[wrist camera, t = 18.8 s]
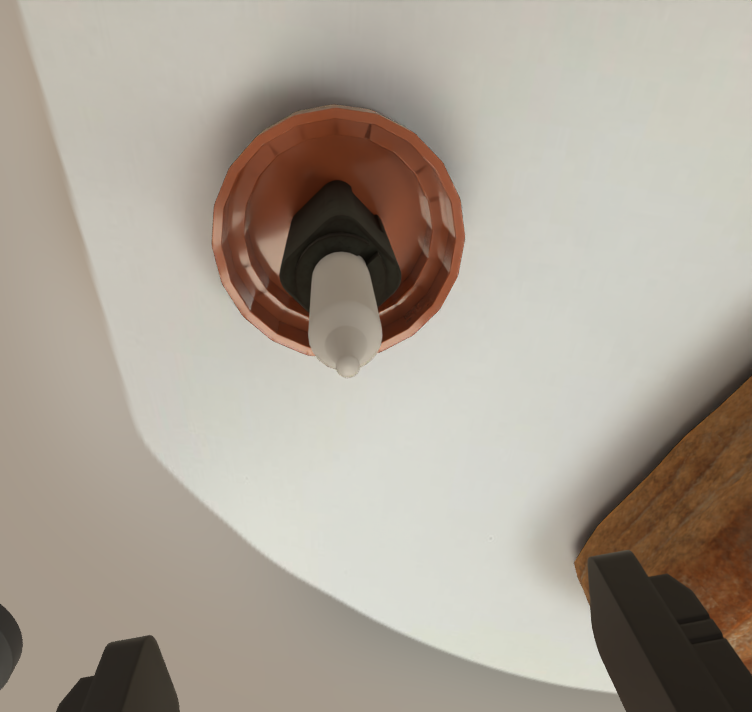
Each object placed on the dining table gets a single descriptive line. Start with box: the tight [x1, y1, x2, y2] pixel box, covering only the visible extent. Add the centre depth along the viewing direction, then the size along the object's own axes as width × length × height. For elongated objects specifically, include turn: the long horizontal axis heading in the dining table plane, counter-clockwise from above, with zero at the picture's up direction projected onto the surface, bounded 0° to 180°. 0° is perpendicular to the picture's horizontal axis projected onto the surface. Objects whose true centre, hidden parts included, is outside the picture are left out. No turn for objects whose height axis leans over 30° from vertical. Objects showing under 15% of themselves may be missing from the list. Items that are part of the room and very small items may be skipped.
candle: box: [279, 180, 401, 378], centre depth 36 cm, size 5×5×25 cm
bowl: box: [212, 104, 465, 356], centre depth 46 cm, size 15×15×6 cm
